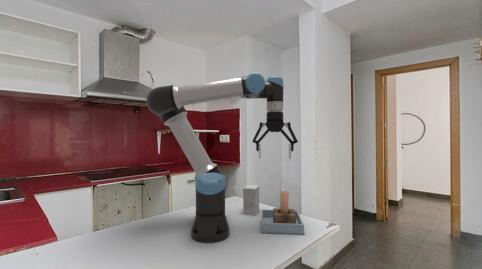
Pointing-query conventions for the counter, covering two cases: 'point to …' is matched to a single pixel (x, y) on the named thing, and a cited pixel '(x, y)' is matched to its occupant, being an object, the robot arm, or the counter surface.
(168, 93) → the robot arm
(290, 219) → the block
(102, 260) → the counter surface
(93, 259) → the counter surface
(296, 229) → the tray
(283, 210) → the peg
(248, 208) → the small box
